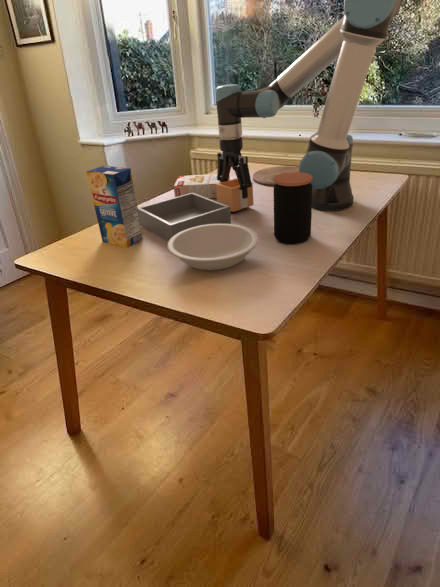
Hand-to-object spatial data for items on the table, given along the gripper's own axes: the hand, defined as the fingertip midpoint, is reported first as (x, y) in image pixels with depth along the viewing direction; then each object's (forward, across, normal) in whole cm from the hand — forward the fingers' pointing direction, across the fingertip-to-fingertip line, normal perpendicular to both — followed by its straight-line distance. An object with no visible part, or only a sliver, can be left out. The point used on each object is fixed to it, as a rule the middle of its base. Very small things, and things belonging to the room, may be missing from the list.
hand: (235, 204), depth 152 cm
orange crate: (+1, 0, 0) cm, 1 cm away
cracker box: (-1, -17, +11) cm, 20 cm away
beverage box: (+2, -3, -42) cm, 42 cm away
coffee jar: (+2, +33, -4) cm, 33 cm away
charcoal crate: (+2, 0, -21) cm, 21 cm away
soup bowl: (+2, +30, -30) cm, 42 cm away
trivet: (+2, -16, +37) cm, 41 cm away
